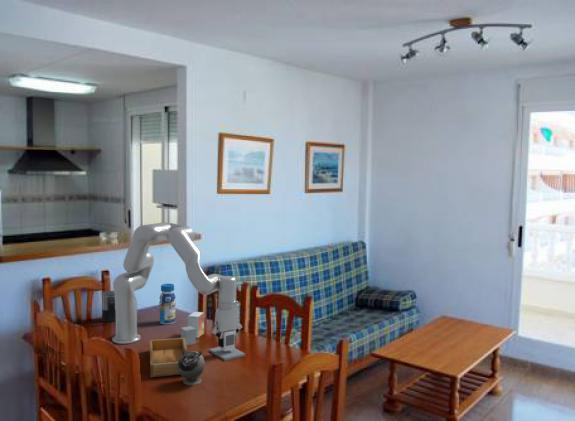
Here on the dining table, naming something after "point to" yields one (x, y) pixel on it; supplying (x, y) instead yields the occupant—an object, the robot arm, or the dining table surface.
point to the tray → (166, 356)
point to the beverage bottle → (167, 304)
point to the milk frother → (108, 306)
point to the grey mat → (227, 353)
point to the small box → (197, 322)
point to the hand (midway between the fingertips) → (226, 345)
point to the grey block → (189, 335)
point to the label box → (228, 340)
